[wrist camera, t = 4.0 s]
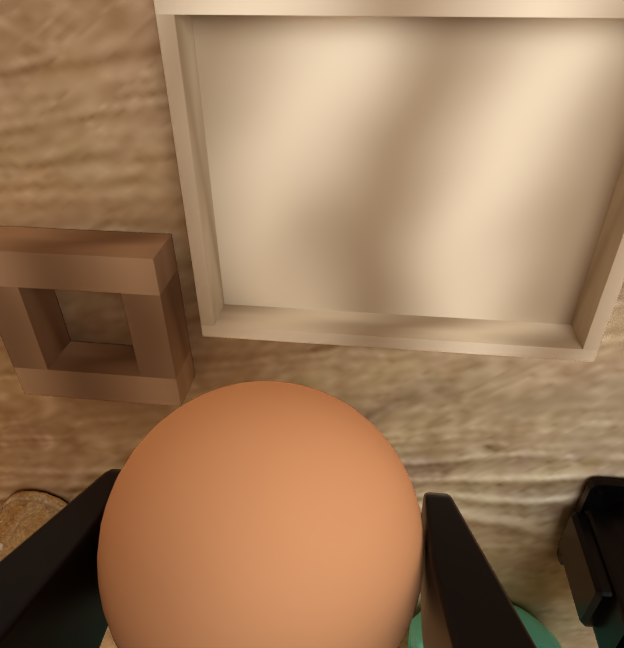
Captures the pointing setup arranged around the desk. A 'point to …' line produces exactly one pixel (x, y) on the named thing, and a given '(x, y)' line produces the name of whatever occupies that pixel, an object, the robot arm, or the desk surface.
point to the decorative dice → (538, 632)
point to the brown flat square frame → (95, 276)
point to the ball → (261, 528)
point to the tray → (402, 170)
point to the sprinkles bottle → (25, 517)
